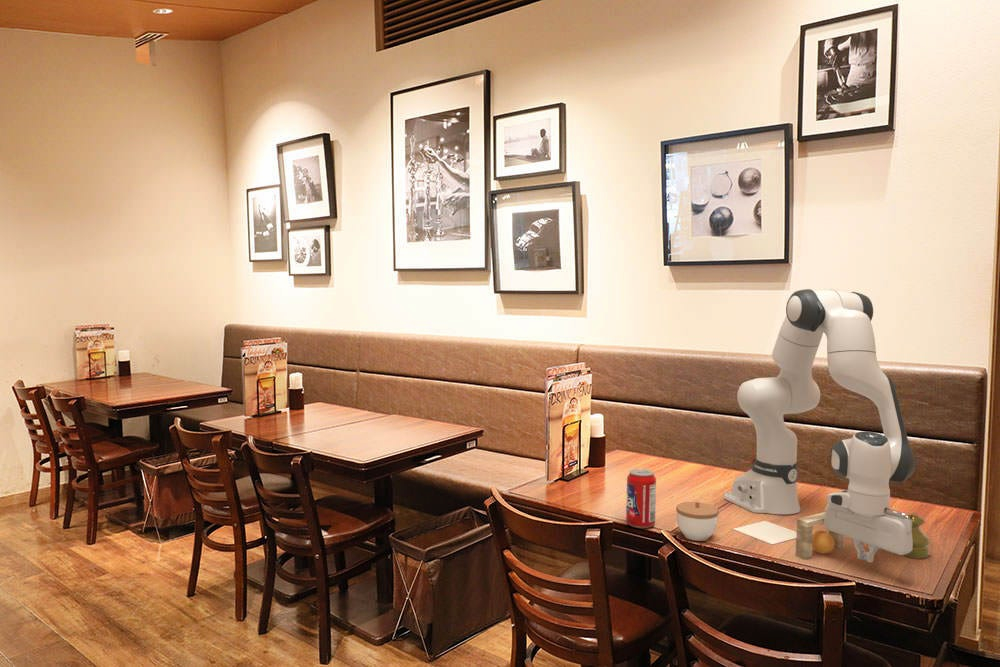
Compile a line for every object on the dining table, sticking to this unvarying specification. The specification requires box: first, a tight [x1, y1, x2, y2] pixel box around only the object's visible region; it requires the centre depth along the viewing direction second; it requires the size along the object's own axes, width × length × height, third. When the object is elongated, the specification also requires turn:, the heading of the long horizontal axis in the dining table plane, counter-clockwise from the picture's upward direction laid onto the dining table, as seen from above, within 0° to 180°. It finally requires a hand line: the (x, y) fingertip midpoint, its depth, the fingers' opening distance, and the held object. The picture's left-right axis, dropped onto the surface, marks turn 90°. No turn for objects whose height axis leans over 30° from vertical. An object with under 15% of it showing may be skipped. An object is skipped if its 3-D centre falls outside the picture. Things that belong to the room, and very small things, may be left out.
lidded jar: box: [675, 500, 719, 542], centre depth 191 cm, size 11×11×9 cm
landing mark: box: [732, 520, 797, 546], centre depth 195 cm, size 13×13×1 cm
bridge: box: [795, 511, 845, 561], centre depth 181 cm, size 3×14×9 cm, turn 120°
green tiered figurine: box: [901, 513, 931, 560], centre depth 180 cm, size 7×7×10 cm
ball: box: [812, 530, 835, 555], centre depth 181 cm, size 6×6×6 cm
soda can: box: [625, 468, 657, 529], centre depth 200 cm, size 8×8×15 cm
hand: (865, 560), depth 171 cm, fingers closed
